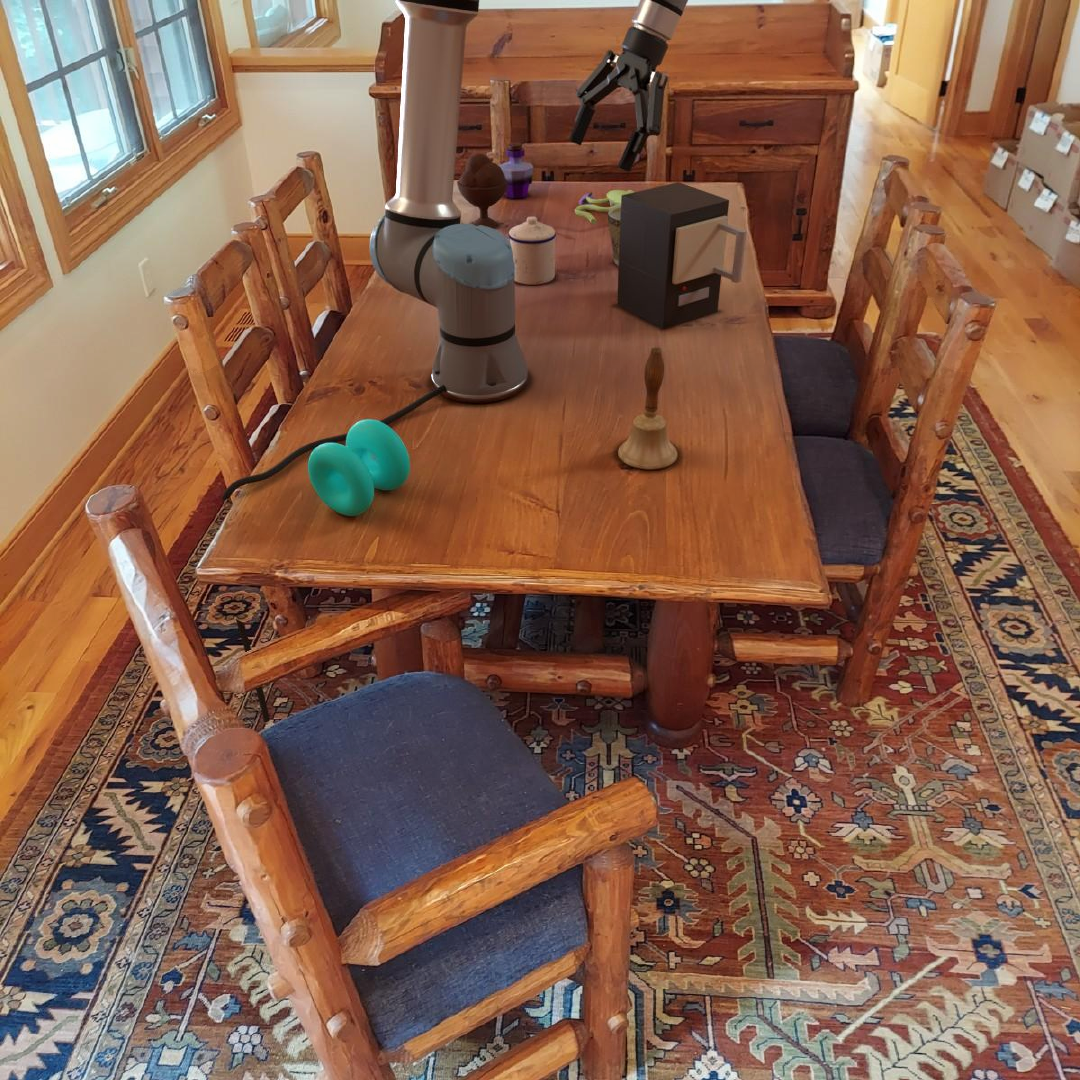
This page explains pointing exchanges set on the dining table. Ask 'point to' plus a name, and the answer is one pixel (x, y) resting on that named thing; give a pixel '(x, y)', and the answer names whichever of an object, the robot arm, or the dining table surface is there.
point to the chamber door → (706, 250)
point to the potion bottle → (517, 172)
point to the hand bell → (649, 425)
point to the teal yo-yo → (359, 467)
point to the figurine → (588, 200)
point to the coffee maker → (664, 254)
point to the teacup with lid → (533, 252)
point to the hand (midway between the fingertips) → (598, 156)
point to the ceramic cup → (615, 231)
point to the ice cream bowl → (482, 186)
